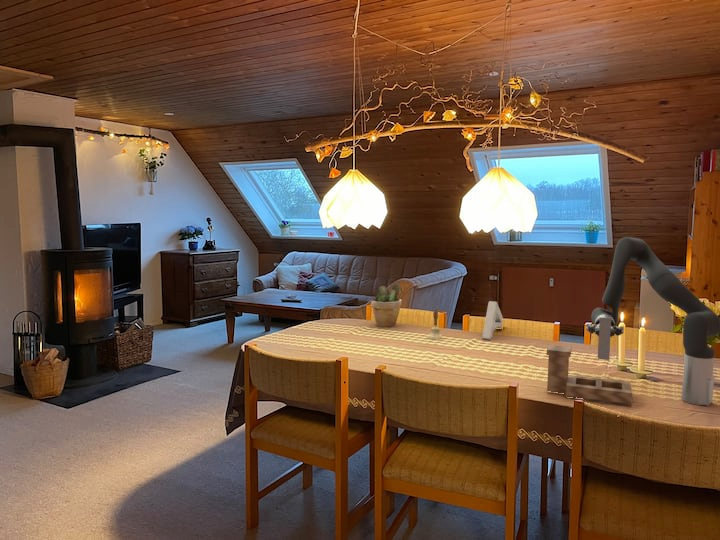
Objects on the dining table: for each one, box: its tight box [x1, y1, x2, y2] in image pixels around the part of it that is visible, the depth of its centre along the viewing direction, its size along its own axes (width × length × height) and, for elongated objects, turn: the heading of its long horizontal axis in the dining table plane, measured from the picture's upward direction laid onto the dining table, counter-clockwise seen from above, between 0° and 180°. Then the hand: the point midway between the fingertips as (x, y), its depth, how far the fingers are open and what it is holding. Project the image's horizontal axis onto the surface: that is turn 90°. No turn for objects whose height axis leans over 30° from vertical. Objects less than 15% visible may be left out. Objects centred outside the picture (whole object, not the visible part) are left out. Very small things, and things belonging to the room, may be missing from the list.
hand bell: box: [427, 308, 444, 340], centre depth 302 cm, size 8×8×16 cm
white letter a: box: [481, 300, 504, 341], centre depth 313 cm, size 22×4×30 cm
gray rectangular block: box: [597, 315, 611, 361], centre depth 211 cm, size 4×5×16 cm
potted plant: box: [370, 283, 403, 328], centre depth 332 cm, size 18×19×25 cm
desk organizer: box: [546, 344, 633, 408], centre depth 210 cm, size 30×14×17 cm, turn 67°
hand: (604, 333), depth 208 cm, fingers closed on gray rectangular block, 4 cm apart
